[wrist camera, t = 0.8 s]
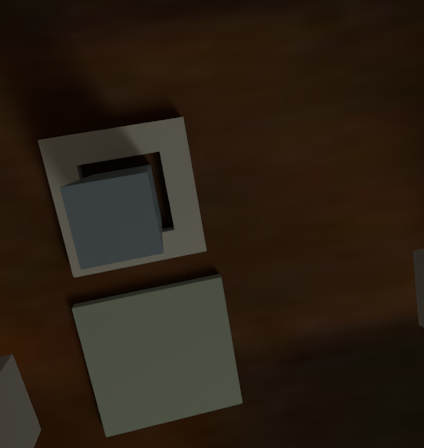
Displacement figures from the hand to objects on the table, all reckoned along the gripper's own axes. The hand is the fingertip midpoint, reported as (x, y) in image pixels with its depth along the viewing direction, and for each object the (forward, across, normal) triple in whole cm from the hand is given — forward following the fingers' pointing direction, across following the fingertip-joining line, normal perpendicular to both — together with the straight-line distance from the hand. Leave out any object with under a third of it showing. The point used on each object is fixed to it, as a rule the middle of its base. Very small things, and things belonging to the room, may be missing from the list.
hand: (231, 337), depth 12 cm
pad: (+23, -5, -14) cm, 27 cm away
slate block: (+23, -4, +2) cm, 24 cm away
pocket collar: (+23, -4, +2) cm, 24 cm away
